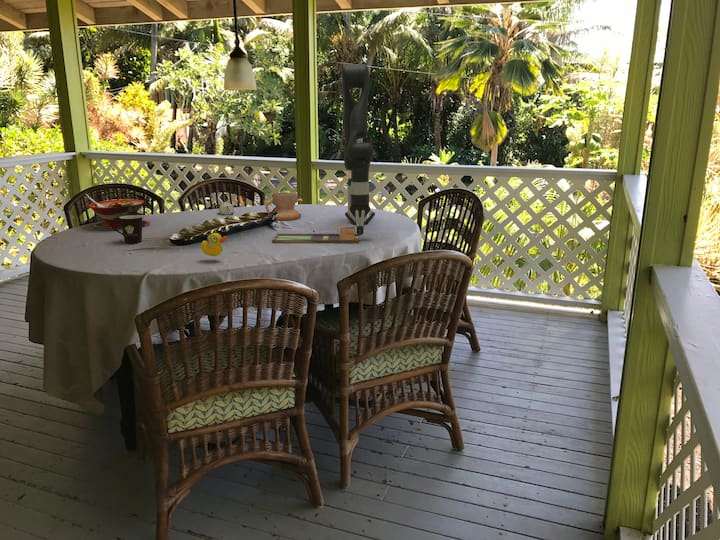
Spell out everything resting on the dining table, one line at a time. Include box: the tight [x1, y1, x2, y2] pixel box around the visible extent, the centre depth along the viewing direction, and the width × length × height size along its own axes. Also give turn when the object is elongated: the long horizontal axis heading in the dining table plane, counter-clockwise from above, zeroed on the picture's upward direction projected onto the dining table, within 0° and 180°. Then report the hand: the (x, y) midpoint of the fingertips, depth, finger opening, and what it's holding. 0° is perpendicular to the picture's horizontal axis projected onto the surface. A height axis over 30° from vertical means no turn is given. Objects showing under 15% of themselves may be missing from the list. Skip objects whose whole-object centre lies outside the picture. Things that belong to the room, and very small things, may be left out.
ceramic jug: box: [264, 191, 303, 222], centre depth 276 cm, size 18×14×14 cm
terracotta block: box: [339, 226, 356, 240], centre depth 237 cm, size 6×6×4 cm
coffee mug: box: [111, 214, 143, 244], centre depth 232 cm, size 12×9×10 cm
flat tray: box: [271, 233, 360, 244], centre depth 237 cm, size 14×35×1 cm, turn 90°
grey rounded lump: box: [217, 199, 236, 216], centre depth 285 cm, size 9×8×10 cm
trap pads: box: [310, 236, 340, 240], centre depth 238 cm, size 12×12×1 cm
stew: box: [85, 192, 151, 230], centre depth 259 cm, size 28×24×16 cm
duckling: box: [200, 232, 227, 257], centre depth 207 cm, size 10×4×8 cm, turn 80°
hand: (359, 235), depth 237 cm, fingers closed
